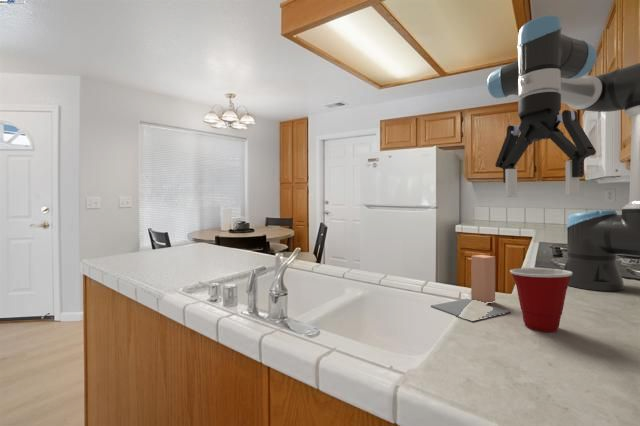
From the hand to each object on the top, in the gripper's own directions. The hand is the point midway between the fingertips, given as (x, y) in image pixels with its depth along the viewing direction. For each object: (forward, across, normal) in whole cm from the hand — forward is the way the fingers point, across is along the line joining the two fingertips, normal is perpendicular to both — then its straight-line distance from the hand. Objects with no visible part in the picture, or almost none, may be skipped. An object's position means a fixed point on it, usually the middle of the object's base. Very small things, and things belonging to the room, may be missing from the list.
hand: (539, 196), depth 70 cm
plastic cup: (+27, +2, -2) cm, 28 cm away
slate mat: (+27, -12, -8) cm, 31 cm away
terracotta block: (+27, -16, +1) cm, 32 cm away
